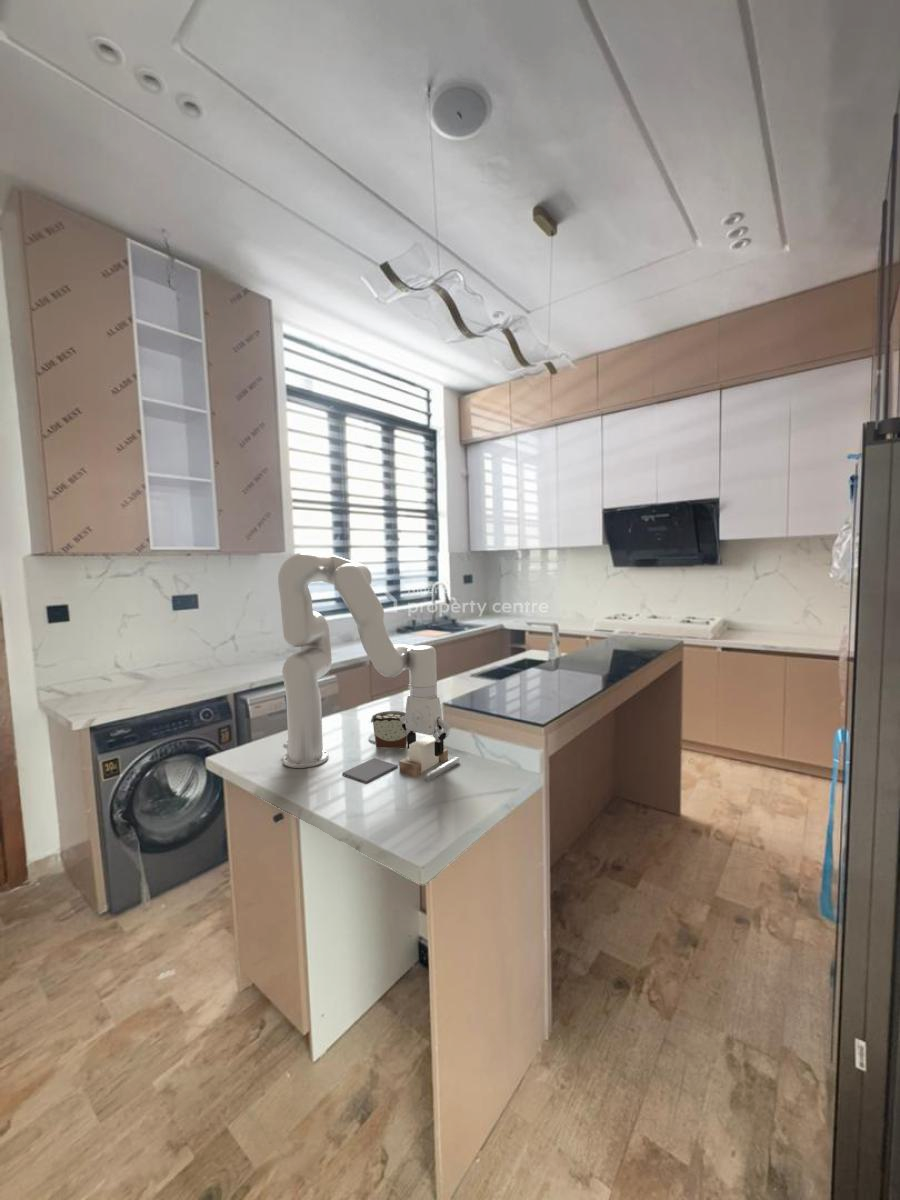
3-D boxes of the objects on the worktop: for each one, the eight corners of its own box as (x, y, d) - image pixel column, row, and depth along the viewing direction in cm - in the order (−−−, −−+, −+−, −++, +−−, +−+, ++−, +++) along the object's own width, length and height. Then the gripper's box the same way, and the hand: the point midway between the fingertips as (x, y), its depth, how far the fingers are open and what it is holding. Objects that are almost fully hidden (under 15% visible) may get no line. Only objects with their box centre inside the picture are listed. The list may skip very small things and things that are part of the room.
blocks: (399, 771, 133) (399, 761, 132) (431, 755, 144) (431, 745, 144) (428, 781, 127) (428, 769, 127) (459, 762, 138) (459, 752, 138)
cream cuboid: (409, 769, 134) (409, 744, 134) (427, 759, 141) (427, 735, 140) (420, 772, 132) (420, 747, 132) (438, 762, 139) (438, 738, 138)
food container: (414, 741, 155) (413, 710, 154) (411, 749, 149) (410, 716, 148) (376, 740, 156) (375, 710, 156) (371, 748, 150) (370, 716, 149)
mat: (342, 774, 131) (342, 772, 131) (374, 759, 141) (374, 757, 141) (366, 783, 126) (366, 781, 126) (397, 767, 136) (397, 765, 136)
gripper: (390, 689, 137) (393, 749, 138) (440, 698, 127) (442, 762, 128) (408, 683, 143) (410, 741, 144) (456, 691, 133) (458, 753, 134)
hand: (425, 751), depth 136 cm, fingers open, 9 cm apart
